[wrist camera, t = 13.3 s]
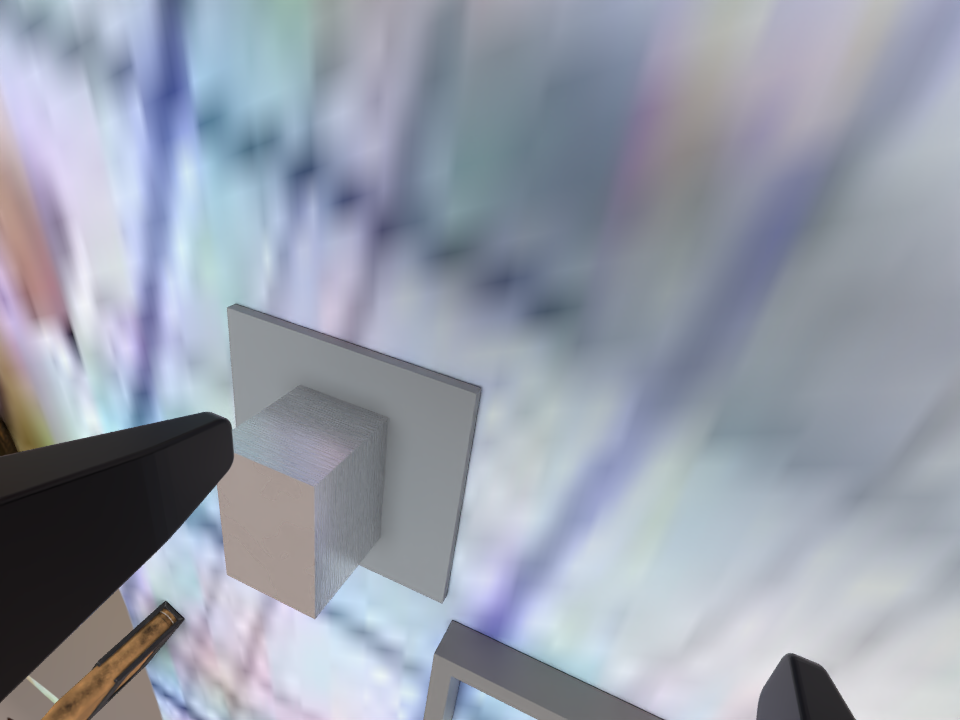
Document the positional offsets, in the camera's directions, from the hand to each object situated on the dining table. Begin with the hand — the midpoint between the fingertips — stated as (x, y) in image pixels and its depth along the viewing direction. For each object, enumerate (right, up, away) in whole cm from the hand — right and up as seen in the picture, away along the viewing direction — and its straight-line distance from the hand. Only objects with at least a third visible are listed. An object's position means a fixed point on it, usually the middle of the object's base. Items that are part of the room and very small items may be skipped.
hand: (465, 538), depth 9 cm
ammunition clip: (-24, -18, +34) cm, 45 cm away
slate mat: (-6, -2, +18) cm, 19 cm away
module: (-6, -2, +18) cm, 19 cm away
